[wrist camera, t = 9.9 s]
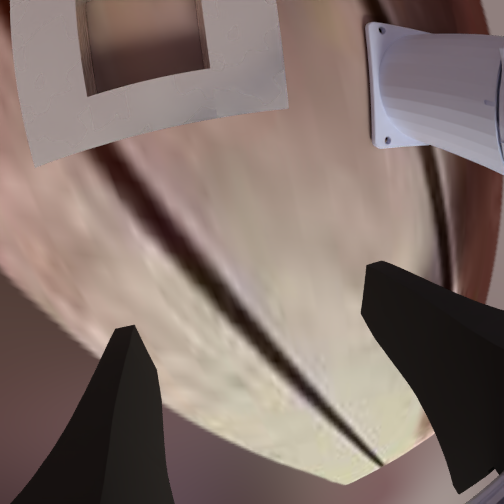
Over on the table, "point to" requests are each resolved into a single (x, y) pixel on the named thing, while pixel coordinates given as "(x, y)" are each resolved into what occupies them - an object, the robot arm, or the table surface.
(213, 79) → the socket block
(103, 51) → the table surface
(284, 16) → the table surface
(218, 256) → the table surface
